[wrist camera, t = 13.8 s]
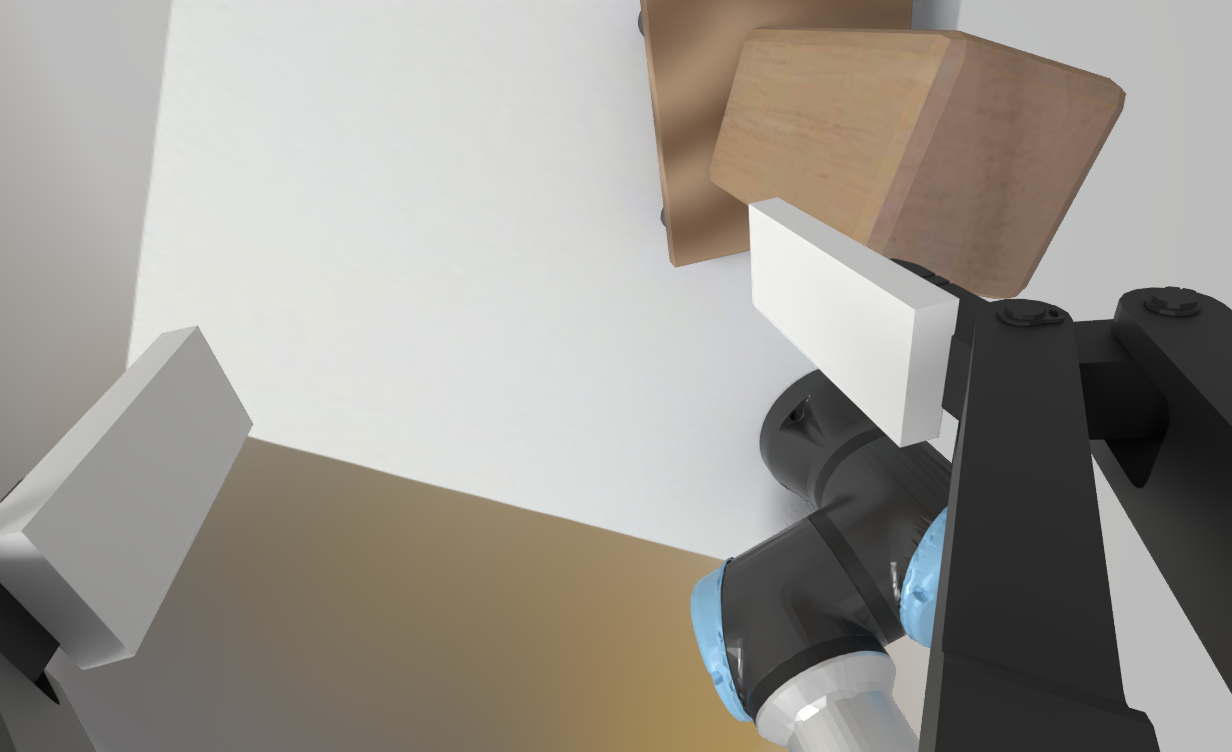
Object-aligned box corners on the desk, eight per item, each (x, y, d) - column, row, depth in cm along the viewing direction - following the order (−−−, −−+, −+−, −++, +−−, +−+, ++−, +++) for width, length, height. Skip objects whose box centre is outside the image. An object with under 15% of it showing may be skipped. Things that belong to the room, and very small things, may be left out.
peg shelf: (853, 198, 54) (894, 217, 49) (654, 243, 52) (675, 267, 47) (865, -51, 45) (917, -60, 40) (623, -7, 43) (645, -11, 38)
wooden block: (874, 59, 43) (1148, 85, 26) (821, 204, 47) (1025, 309, 30) (743, 22, 40) (955, 24, 23) (700, 180, 44) (850, 281, 27)
